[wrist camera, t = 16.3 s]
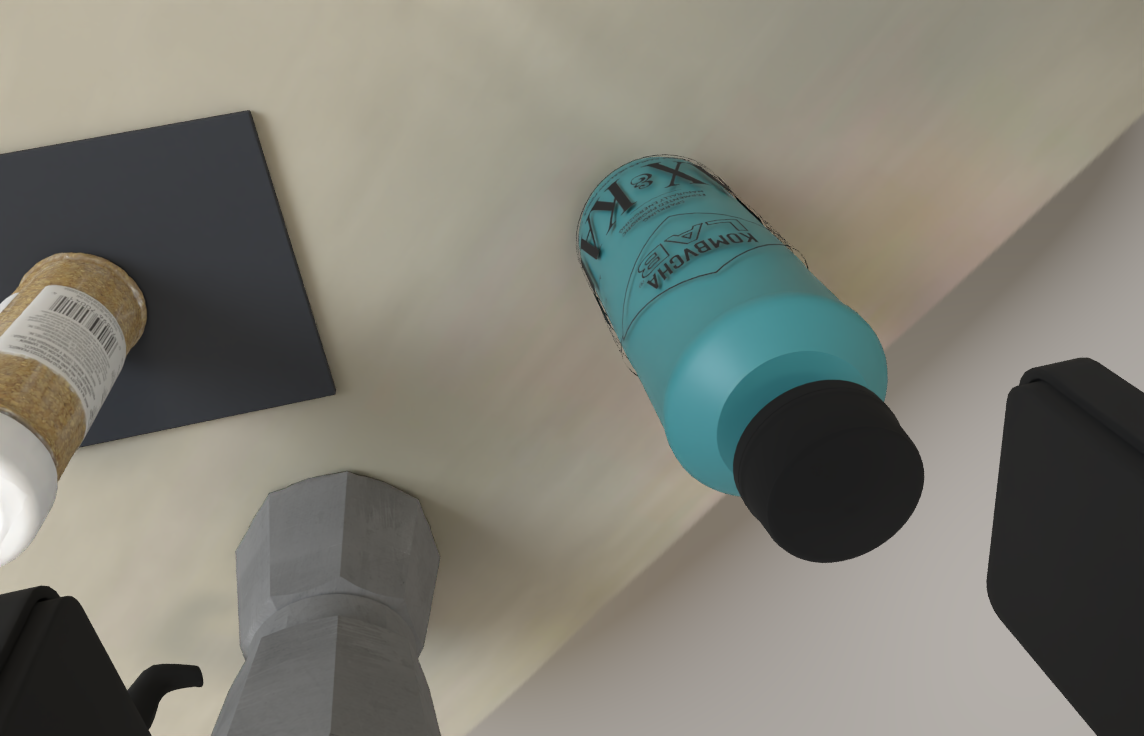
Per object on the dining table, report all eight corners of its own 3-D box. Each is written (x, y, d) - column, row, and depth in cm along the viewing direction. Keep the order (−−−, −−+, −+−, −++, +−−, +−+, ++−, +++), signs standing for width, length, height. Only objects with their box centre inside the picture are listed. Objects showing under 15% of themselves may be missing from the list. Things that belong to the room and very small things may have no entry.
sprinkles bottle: (-5, 276, 34) (-212, 480, 22) (108, 230, 34) (-39, 411, 22) (68, 374, 36) (-84, 607, 24) (175, 332, 36) (73, 545, 24)
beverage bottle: (747, 219, 39) (1039, 492, 21) (628, 320, 40) (812, 656, 23) (655, 104, 36) (908, 312, 18) (530, 217, 37) (656, 512, 20)
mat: (-273, 202, 32) (-280, 205, 31) (250, 109, 33) (248, 112, 33) (-102, 480, 37) (-107, 486, 37) (336, 390, 39) (335, 394, 39)
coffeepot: (493, 473, 42) (555, 817, 27) (467, 627, 46) (508, 1004, 31) (135, 455, 39) (-37, 840, 23) (141, 624, 43) (-1, 1050, 27)
